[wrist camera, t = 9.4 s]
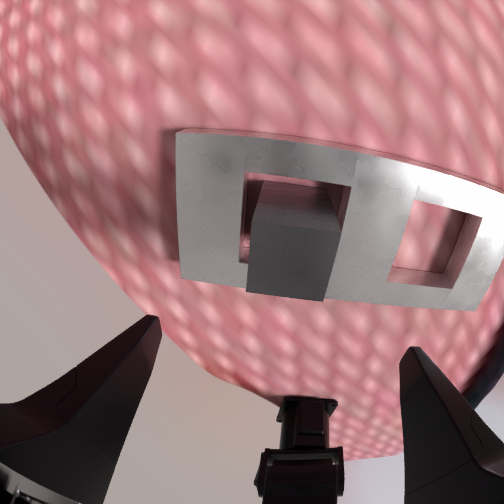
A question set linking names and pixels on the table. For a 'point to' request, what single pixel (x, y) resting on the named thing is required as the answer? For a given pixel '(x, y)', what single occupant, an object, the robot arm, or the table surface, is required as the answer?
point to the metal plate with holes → (349, 217)
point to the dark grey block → (292, 242)
